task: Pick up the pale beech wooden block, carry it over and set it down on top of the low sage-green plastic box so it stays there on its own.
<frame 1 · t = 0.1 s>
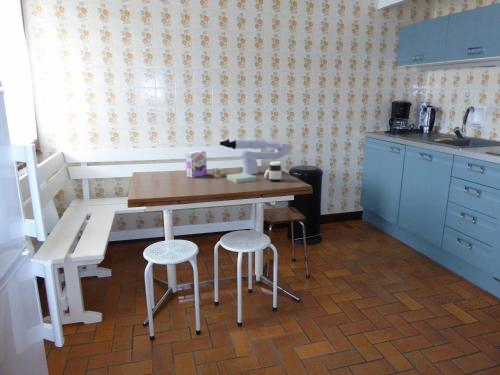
hand: (222, 144, 253), 22 cm above the table, tool horizontal, fingers open, 7 cm apart
beech block: (217, 176, 259), on the table
sage box: (241, 180, 248), on the table
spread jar: (272, 180, 246), on the table
candy box: (196, 176, 260), on the table
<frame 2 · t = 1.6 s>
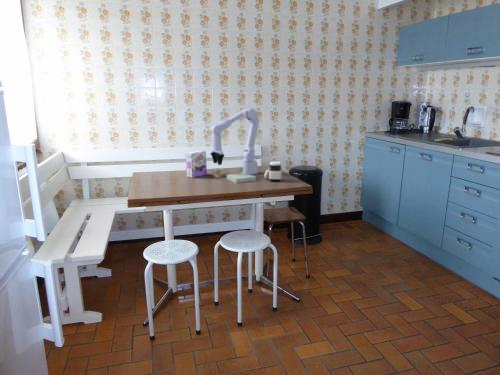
hand: (217, 163, 257), 8 cm above the table, tool pointing down, fingers open, 7 cm apart
nothing on the table moved.
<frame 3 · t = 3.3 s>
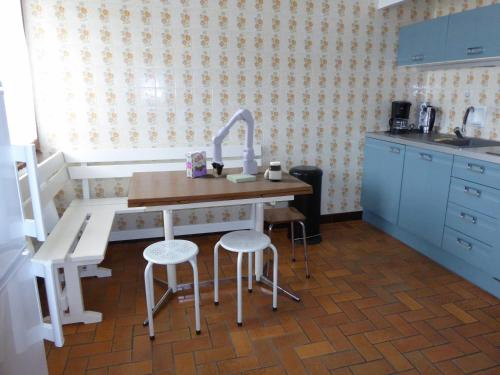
hand: (217, 174, 258), 1 cm above the table, tool pointing down, fingers closed on beech block, 5 cm apart
beech block: (217, 176, 259), on the table, touching gripper
everything else where it was.
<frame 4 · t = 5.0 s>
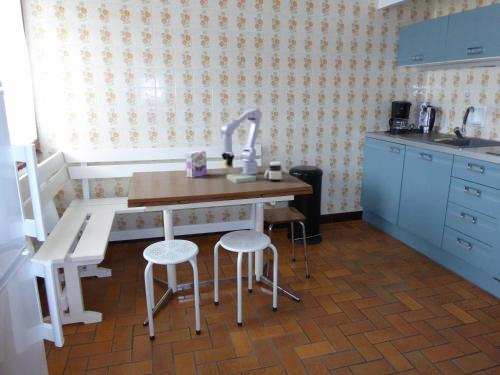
hand: (228, 165, 252), 8 cm above the table, tool pointing down, fingers closed on beech block, 5 cm apart
beech block: (227, 167, 252), point 7 cm above the table, touching gripper
everything else where it was.
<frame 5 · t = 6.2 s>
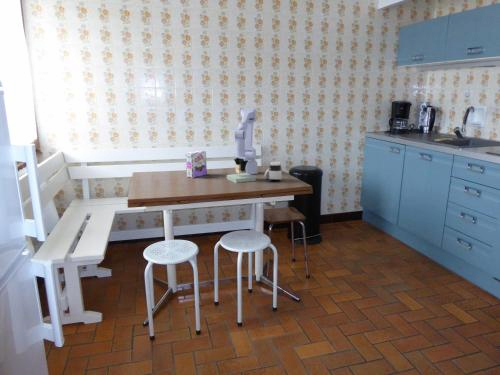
hand: (241, 170, 246), 6 cm above the table, tool pointing down, fingers closed on beech block, 5 cm apart
beech block: (240, 172, 247), point 5 cm above the table, touching gripper
everything else where it was.
when the fingers open (5 cm above the table, at t = 6.9 s): beech block drops 2 cm, resting on sage box.
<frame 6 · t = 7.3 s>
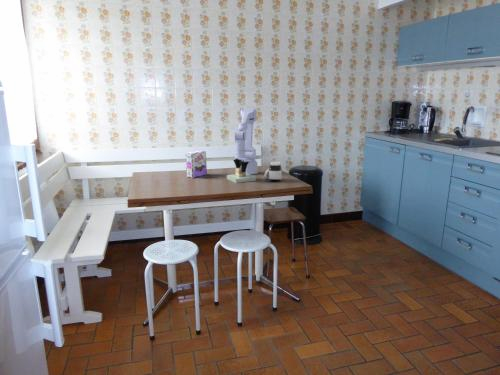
hand: (241, 171, 247), 5 cm above the table, tool pointing down, fingers open, 7 cm apart
beech block: (240, 176, 247), point 2 cm above the table, touching sage box
sage box: (241, 180, 248), on the table, touching beech block
everything else where it was.
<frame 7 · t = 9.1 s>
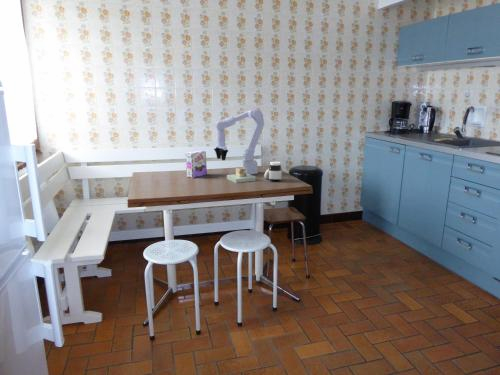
hand: (221, 159, 261), 10 cm above the table, tool pointing down, fingers open, 7 cm apart
nothing on the table moved.
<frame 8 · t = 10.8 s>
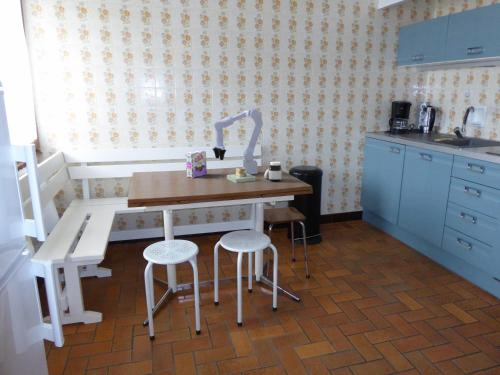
hand: (219, 159, 263), 10 cm above the table, tool pointing down, fingers open, 7 cm apart
nothing on the table moved.
at the end: beech block inside the target area on the sage box (0.1 cm from its centre), point 3.0 cm above the sage box's base; beech block touching sage box; beech block tilted 0° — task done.
